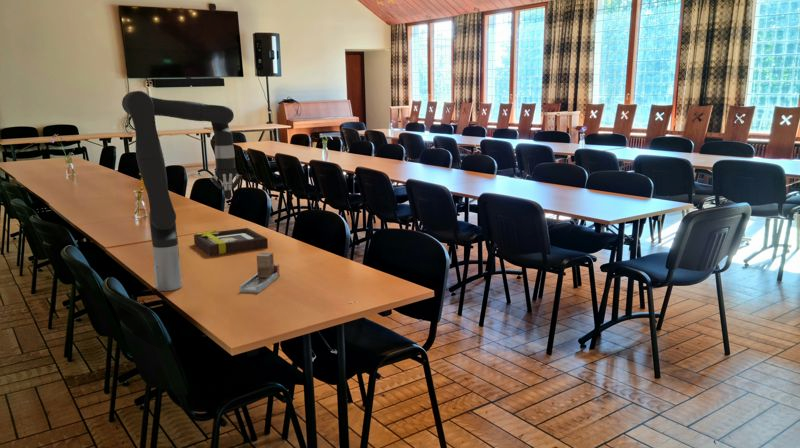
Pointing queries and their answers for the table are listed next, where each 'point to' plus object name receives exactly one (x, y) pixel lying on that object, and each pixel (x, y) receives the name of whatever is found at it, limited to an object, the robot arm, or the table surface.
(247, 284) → the track
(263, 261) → the slider block
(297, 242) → the table surface
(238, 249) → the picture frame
